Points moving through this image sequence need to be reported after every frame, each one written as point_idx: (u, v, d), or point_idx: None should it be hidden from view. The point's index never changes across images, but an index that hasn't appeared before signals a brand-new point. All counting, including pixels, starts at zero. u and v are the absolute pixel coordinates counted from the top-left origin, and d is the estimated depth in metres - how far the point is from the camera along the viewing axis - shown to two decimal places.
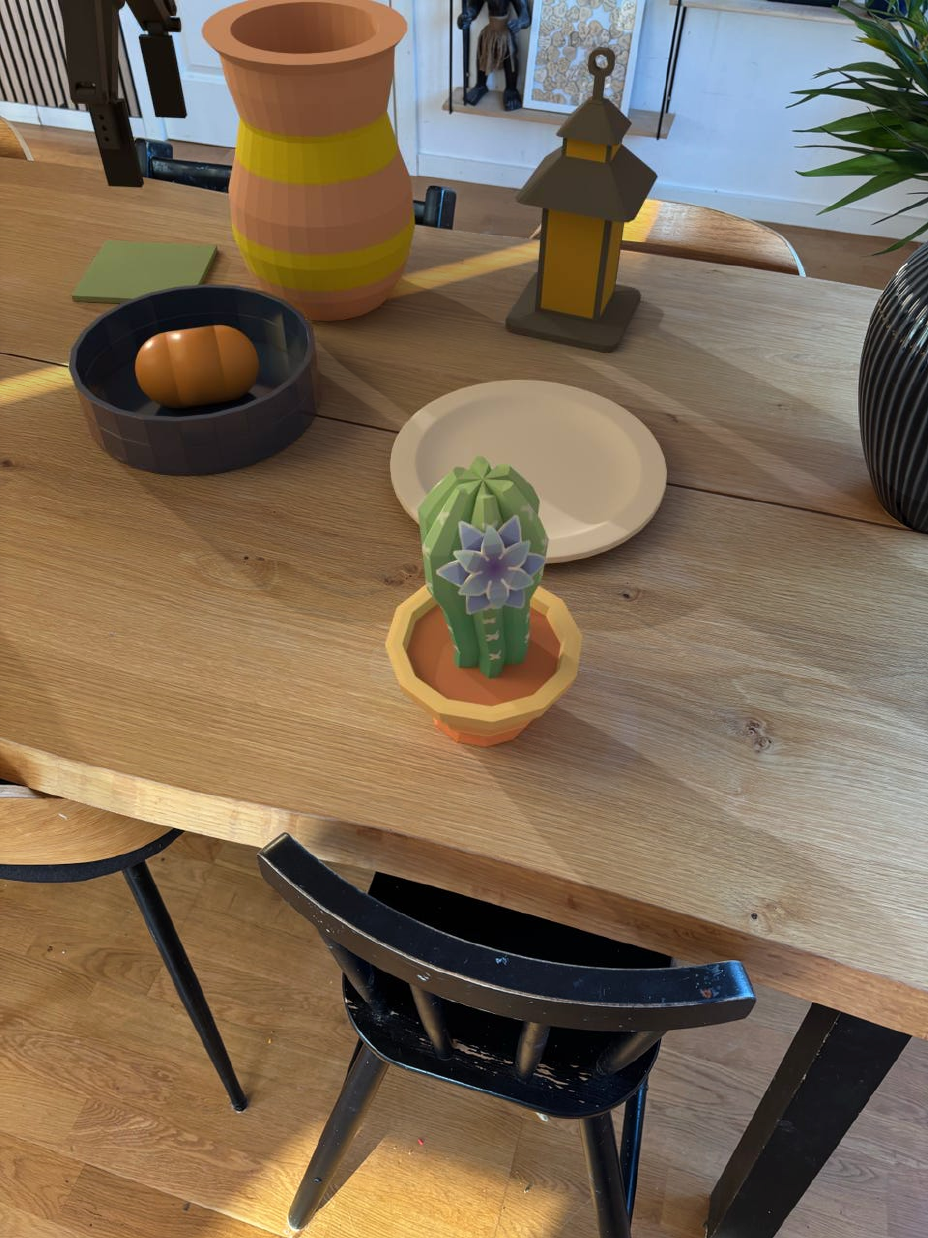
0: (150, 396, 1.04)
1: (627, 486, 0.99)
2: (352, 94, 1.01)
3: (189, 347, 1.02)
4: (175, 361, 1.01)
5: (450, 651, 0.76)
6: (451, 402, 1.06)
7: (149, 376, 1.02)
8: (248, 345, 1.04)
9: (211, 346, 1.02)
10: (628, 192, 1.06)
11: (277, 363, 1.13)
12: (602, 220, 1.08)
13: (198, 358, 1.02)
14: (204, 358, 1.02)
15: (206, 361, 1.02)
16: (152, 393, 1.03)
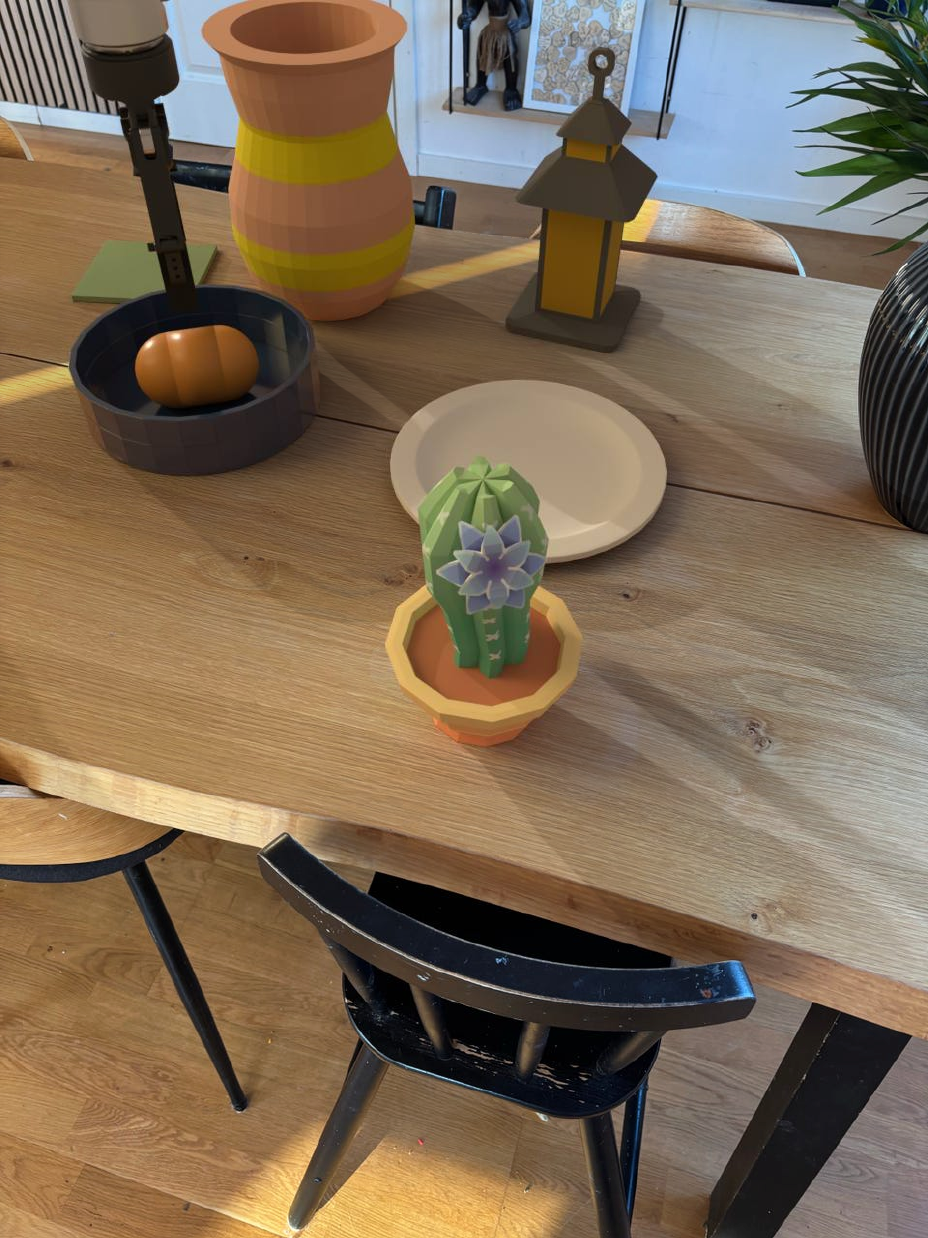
0: (150, 396, 1.04)
1: (627, 486, 0.99)
2: (352, 94, 1.01)
3: (189, 347, 1.02)
4: (175, 361, 1.01)
5: (450, 651, 0.76)
6: (451, 402, 1.06)
7: (149, 376, 1.02)
8: (248, 345, 1.04)
9: (211, 346, 1.02)
10: (628, 192, 1.06)
11: (277, 363, 1.13)
12: (602, 220, 1.08)
13: (198, 358, 1.02)
14: (204, 358, 1.02)
15: (206, 361, 1.02)
16: (152, 393, 1.03)
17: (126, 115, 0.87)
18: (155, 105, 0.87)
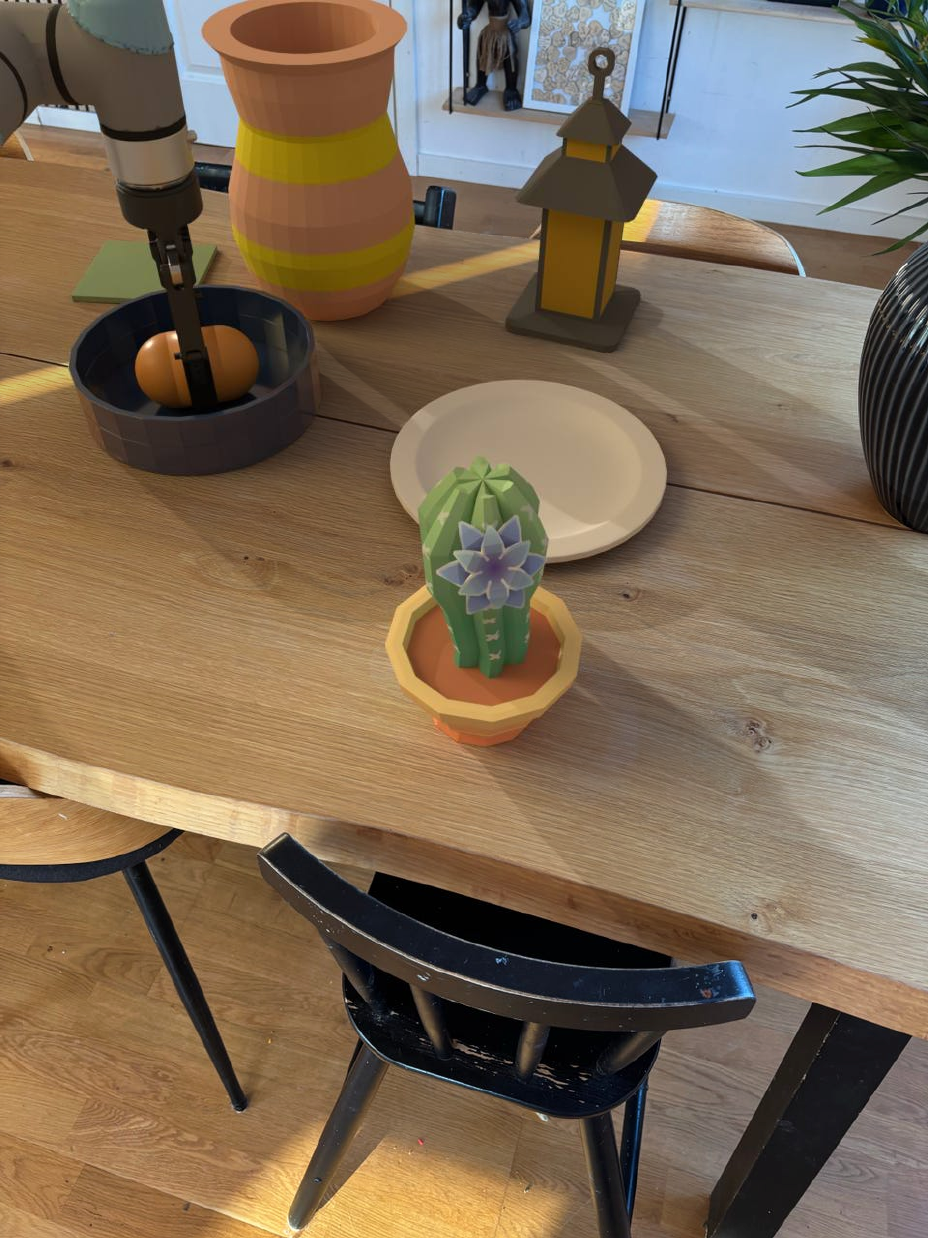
0: (150, 396, 1.04)
1: (627, 486, 0.99)
2: (352, 94, 1.01)
3: None
4: (175, 361, 1.01)
5: (450, 651, 0.76)
6: (451, 402, 1.06)
7: (149, 376, 1.02)
8: (248, 345, 1.04)
9: (211, 346, 1.02)
10: (628, 192, 1.06)
11: (277, 363, 1.13)
12: (602, 220, 1.08)
13: None
14: None
15: None
16: (152, 393, 1.03)
17: (153, 234, 0.95)
18: None
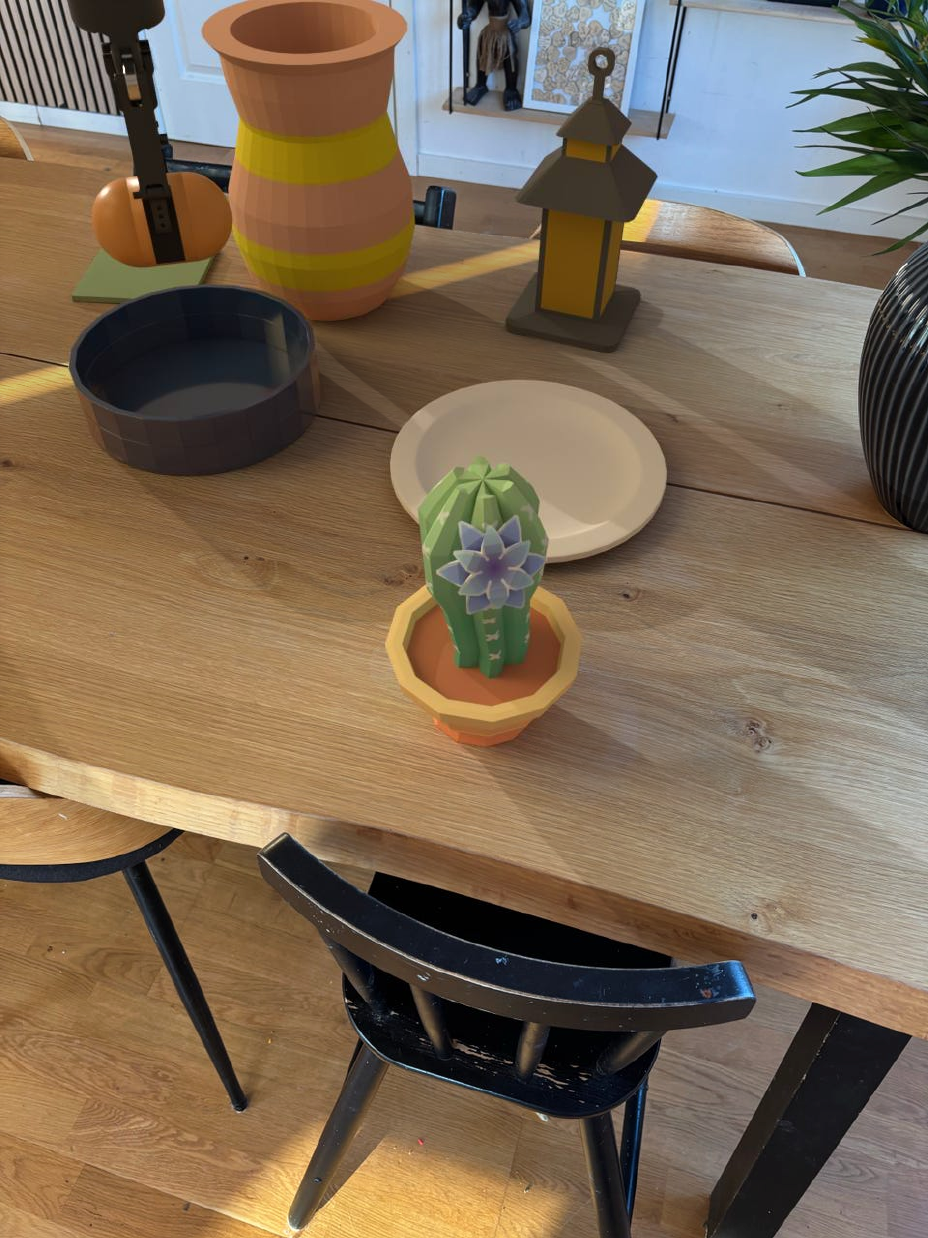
0: (108, 250, 0.92)
1: (627, 486, 0.99)
2: (352, 94, 1.01)
3: None
4: (136, 206, 0.89)
5: (450, 651, 0.76)
6: (451, 402, 1.06)
7: (106, 223, 0.90)
8: (219, 194, 0.93)
9: (177, 191, 0.90)
10: (628, 192, 1.06)
11: (277, 363, 1.13)
12: (602, 220, 1.08)
13: None
14: None
15: None
16: (110, 245, 0.91)
17: (109, 49, 0.83)
18: (139, 40, 0.83)
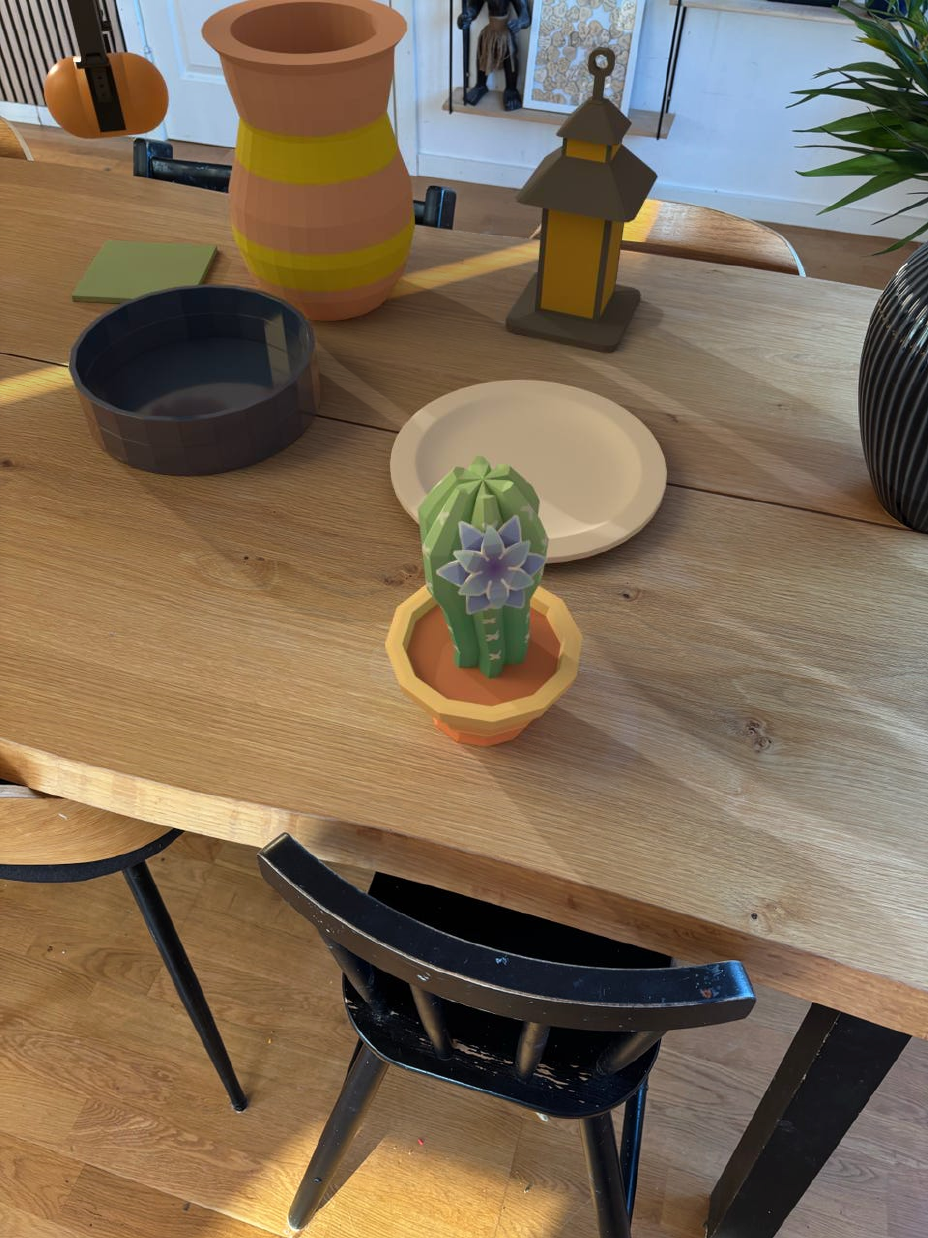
0: (59, 120, 1.06)
1: (627, 486, 0.99)
2: (352, 94, 1.01)
3: None
4: (81, 79, 1.03)
5: (450, 651, 0.76)
6: (451, 402, 1.06)
7: (56, 94, 1.04)
8: (155, 71, 1.06)
9: (117, 66, 1.04)
10: (628, 192, 1.06)
11: (277, 363, 1.13)
12: (602, 220, 1.08)
13: None
14: None
15: None
16: (60, 115, 1.05)
17: None
18: None
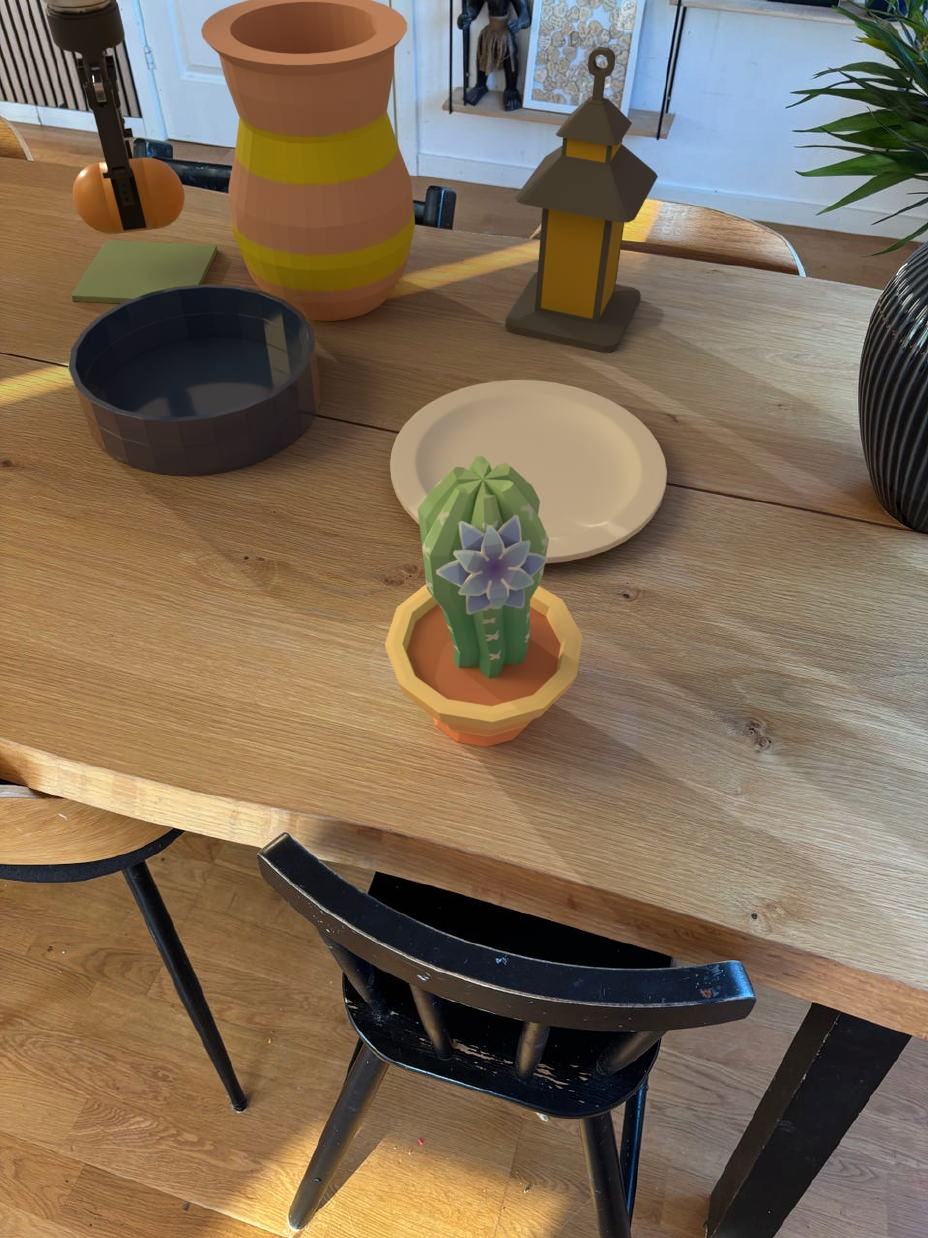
0: (86, 219, 1.17)
1: (627, 486, 0.99)
2: (352, 94, 1.01)
3: None
4: (107, 184, 1.15)
5: (450, 651, 0.76)
6: (451, 402, 1.06)
7: (84, 198, 1.15)
8: (173, 174, 1.18)
9: (139, 172, 1.16)
10: (628, 192, 1.06)
11: (277, 363, 1.13)
12: (602, 220, 1.08)
13: None
14: None
15: None
16: (87, 216, 1.17)
17: (82, 63, 1.08)
18: (106, 55, 1.09)
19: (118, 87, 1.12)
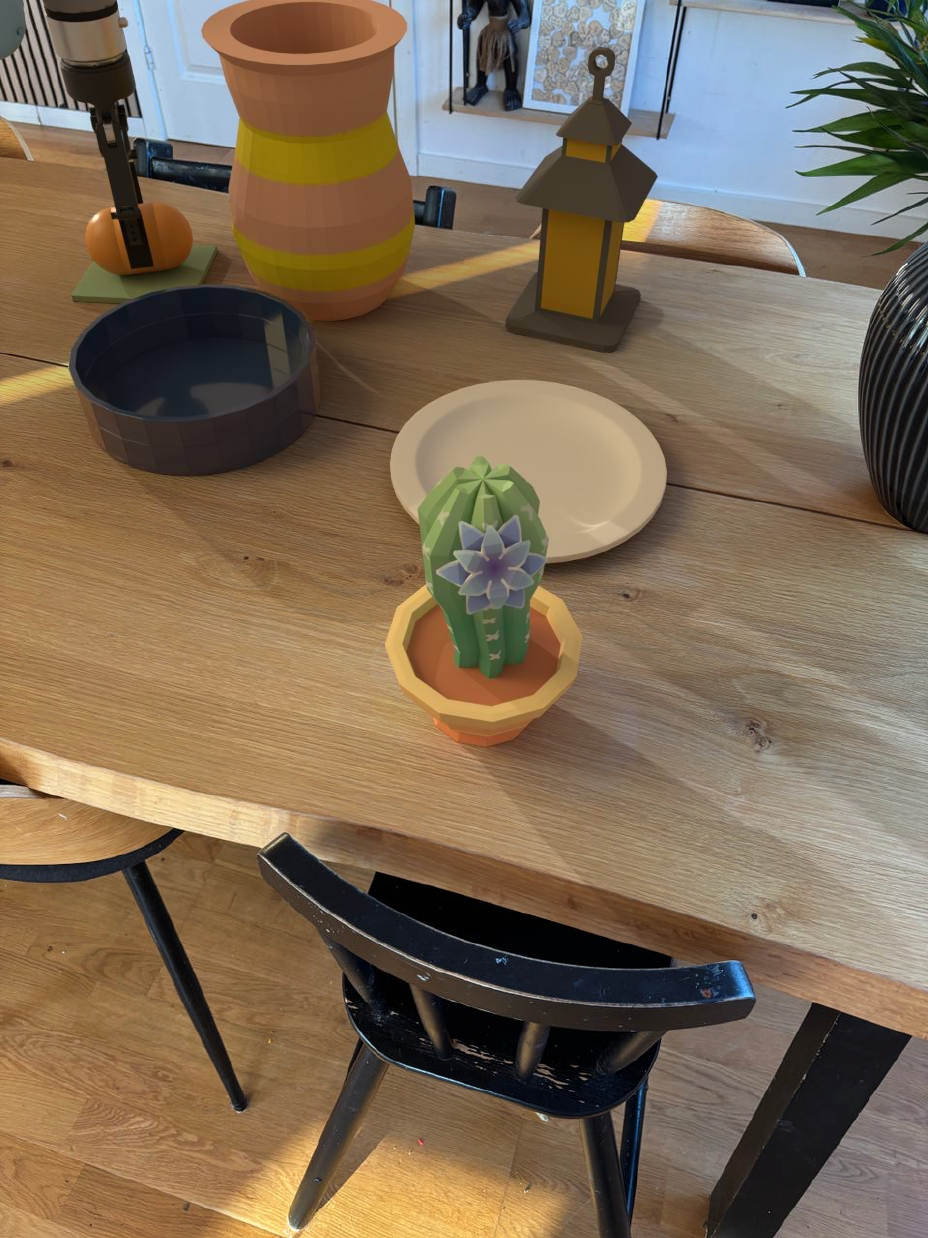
0: (98, 261, 1.21)
1: (627, 486, 0.99)
2: (352, 94, 1.01)
3: None
4: (118, 228, 1.19)
5: (450, 651, 0.76)
6: (451, 402, 1.06)
7: (96, 241, 1.19)
8: (182, 218, 1.22)
9: (149, 216, 1.20)
10: (628, 192, 1.06)
11: (277, 363, 1.13)
12: (602, 220, 1.08)
13: None
14: None
15: (145, 228, 1.20)
16: (99, 258, 1.21)
17: (95, 113, 1.12)
18: (117, 106, 1.12)
19: None
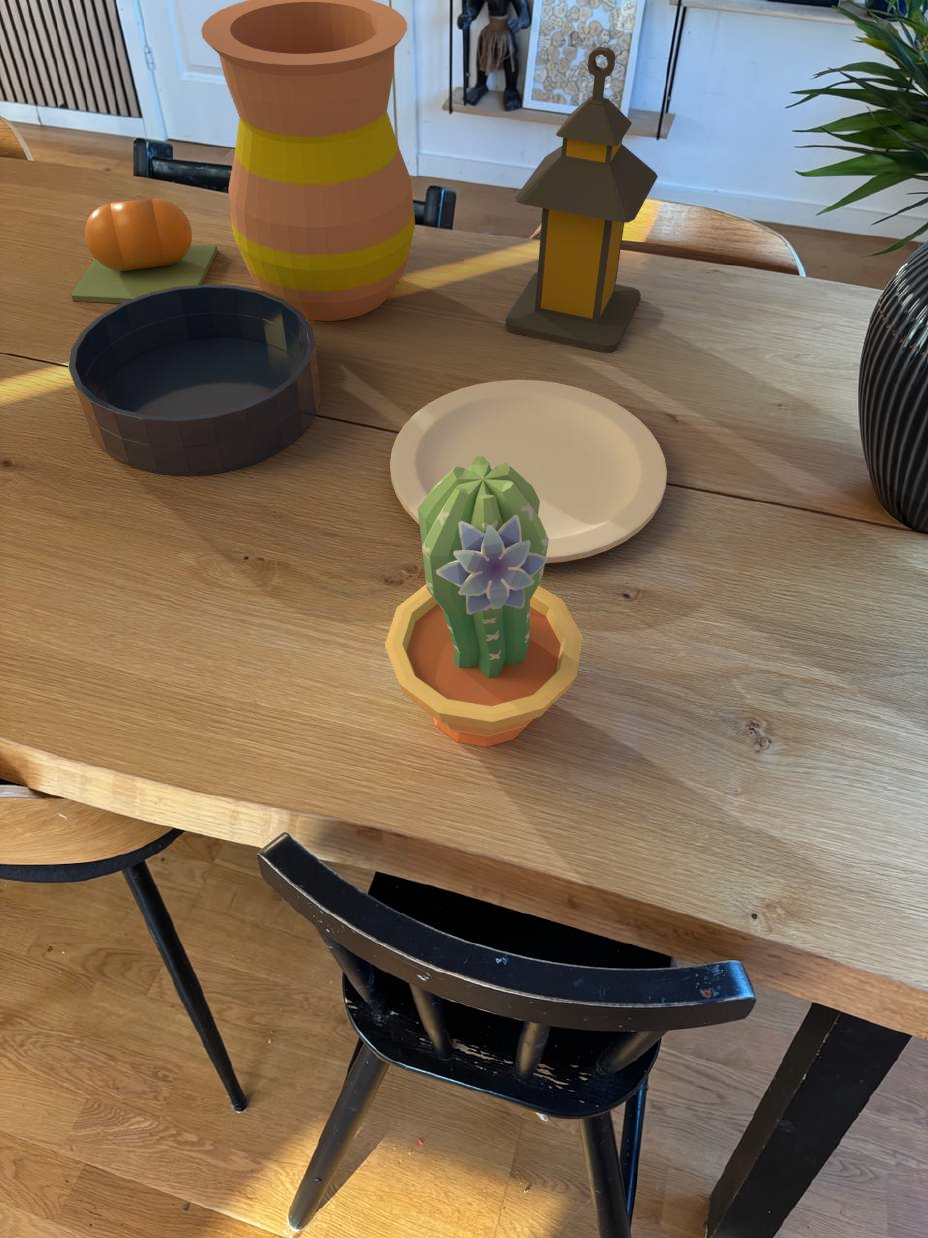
0: (96, 252, 1.21)
1: (627, 486, 0.99)
2: (352, 94, 1.01)
3: (128, 206, 1.21)
4: (116, 215, 1.20)
5: (450, 651, 0.76)
6: (451, 402, 1.06)
7: (94, 229, 1.20)
8: (180, 210, 1.23)
9: (147, 205, 1.21)
10: (628, 192, 1.06)
11: (277, 363, 1.13)
12: (602, 220, 1.08)
13: (135, 213, 1.20)
14: (140, 213, 1.20)
15: (142, 215, 1.20)
16: (96, 247, 1.21)
17: None
18: None
19: None
